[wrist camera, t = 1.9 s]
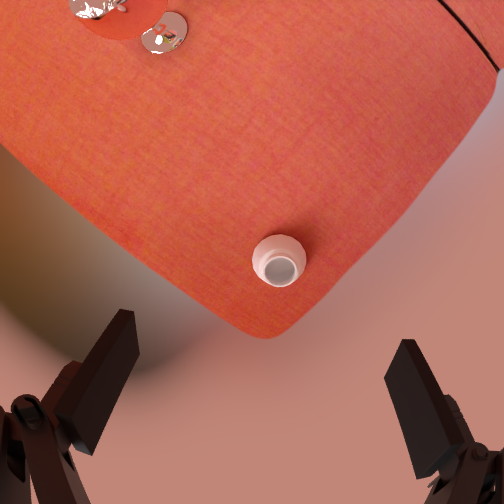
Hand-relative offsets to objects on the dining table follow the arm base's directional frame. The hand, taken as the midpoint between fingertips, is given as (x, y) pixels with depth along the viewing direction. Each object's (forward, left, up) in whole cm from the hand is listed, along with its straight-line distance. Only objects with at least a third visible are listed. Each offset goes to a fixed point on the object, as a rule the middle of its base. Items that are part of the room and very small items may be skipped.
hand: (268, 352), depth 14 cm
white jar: (-1, +2, -16) cm, 16 cm away
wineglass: (+10, -19, -16) cm, 27 cm away
